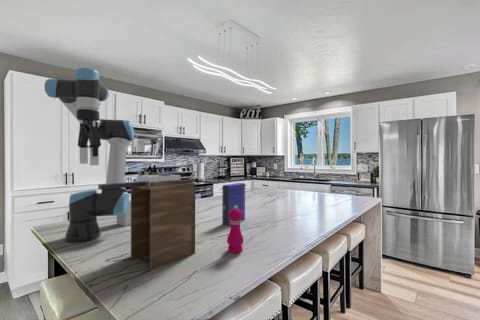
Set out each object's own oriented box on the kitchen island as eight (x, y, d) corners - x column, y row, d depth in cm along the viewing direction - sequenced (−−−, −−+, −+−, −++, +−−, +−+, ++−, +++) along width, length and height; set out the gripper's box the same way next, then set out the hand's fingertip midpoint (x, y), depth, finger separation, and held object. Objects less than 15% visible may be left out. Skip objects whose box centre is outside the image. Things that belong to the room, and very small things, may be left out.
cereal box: (239, 218, 165) (239, 182, 164) (244, 219, 162) (245, 183, 161) (222, 224, 150) (222, 185, 150) (228, 225, 148) (228, 185, 147)
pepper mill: (237, 255, 104) (238, 207, 103) (223, 251, 108) (224, 205, 107) (246, 249, 110) (246, 204, 110) (233, 246, 114) (233, 203, 113)
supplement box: (138, 223, 151) (138, 198, 151) (125, 226, 144) (125, 201, 143) (129, 221, 156) (129, 197, 156) (116, 224, 149) (116, 199, 148)
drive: (94, 187, 88) (94, 175, 88) (167, 181, 110) (167, 172, 110) (105, 190, 82) (105, 177, 82) (180, 183, 104) (180, 173, 103)
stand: (130, 256, 102) (130, 180, 101) (172, 243, 117) (173, 177, 116) (151, 268, 91) (151, 183, 90) (195, 253, 105) (195, 179, 105)
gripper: (110, 107, 90) (110, 165, 91) (89, 113, 107) (89, 162, 108) (86, 104, 84) (87, 166, 85) (68, 111, 101) (69, 163, 102)
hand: (88, 164), depth 97 cm, fingers open, 13 cm apart
